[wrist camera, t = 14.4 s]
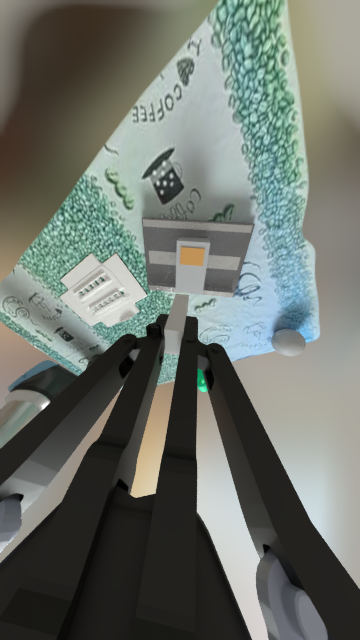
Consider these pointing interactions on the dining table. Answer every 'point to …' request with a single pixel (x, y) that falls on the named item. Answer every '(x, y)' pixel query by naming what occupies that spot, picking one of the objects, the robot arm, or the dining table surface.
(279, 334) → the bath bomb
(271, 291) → the dining table surface
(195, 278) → the module
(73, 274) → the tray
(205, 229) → the rail
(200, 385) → the camera mount
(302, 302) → the dining table surface
